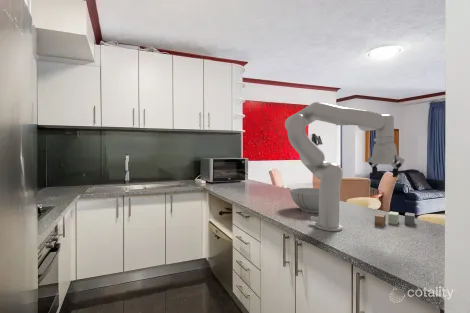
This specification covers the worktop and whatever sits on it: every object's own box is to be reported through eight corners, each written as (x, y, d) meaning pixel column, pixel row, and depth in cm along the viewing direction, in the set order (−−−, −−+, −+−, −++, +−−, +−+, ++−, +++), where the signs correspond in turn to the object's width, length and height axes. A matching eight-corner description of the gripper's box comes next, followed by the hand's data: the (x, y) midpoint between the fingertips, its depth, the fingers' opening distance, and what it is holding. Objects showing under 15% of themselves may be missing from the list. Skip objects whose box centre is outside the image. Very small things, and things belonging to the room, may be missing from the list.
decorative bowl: (287, 213, 155) (287, 193, 155) (291, 204, 181) (291, 186, 181) (335, 217, 147) (336, 196, 147) (332, 207, 173) (333, 189, 173)
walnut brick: (383, 226, 131) (383, 216, 131) (374, 225, 134) (374, 215, 133) (385, 223, 137) (385, 214, 137) (376, 222, 139) (377, 213, 139)
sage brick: (397, 224, 135) (397, 215, 135) (388, 223, 138) (388, 213, 138) (398, 221, 141) (398, 212, 141) (389, 220, 143) (390, 211, 143)
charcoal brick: (413, 226, 134) (414, 216, 134) (404, 224, 136) (404, 214, 136) (414, 223, 139) (414, 213, 139) (405, 221, 142) (405, 212, 142)
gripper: (363, 141, 133) (363, 175, 133) (399, 140, 118) (399, 178, 119) (371, 141, 137) (371, 174, 137) (408, 140, 122) (407, 177, 123)
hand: (384, 176), depth 128 cm, fingers open, 9 cm apart
